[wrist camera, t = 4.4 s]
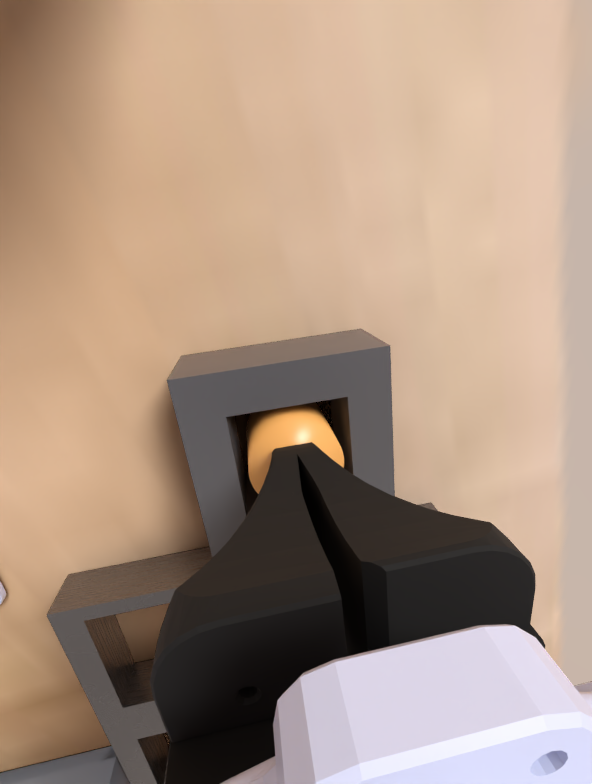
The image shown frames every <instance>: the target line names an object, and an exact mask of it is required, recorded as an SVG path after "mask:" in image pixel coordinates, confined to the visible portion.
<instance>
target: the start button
mask: <svg viewBox="0 0 592 784" xmlns="http://www.w3.org/2000/svg"><path fill="white" fill-rule="evenodd" d="M309 442H312V443H314V444H315V445H316V446H317V447H319V448H320V449H321V450H322V451H323V452H324V453H325V454H327V455H328V456H329V457H330V458H331V459H333V460H334V461H335V462H336V463H338V464H339V465H340V466H342V467H343V468H344V455H343V451H342V448H341V446H340V444H339V442H338V440H337V438H336V437H335V435H334V433H333V431H332V429H331V427H330V425H329V424H328V422H327V420H326V418H325V416H324V414H323V412H322V411H321V409H320V407H319V406H318V405H317V403H316V402H313V403H307V404H301V405H295V406H289V407H283V408H277V409H271V410H265V411H259V412H253V413H251V414H250V416H249V419H248V423H247V448H248V471H249V478H250V481H251V484H252V486H253V488H254V489H255V491H256V492H257V493H258V494H259V492H260V490H261V488H262V486H263V483H264V481H265V478H266V475H267V473H268V470H269V466H270V463H271V457H272V452H273V450H274V449H276V448H281V447H287V446H293V445H298V444H304V443H309Z"/></svg>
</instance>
